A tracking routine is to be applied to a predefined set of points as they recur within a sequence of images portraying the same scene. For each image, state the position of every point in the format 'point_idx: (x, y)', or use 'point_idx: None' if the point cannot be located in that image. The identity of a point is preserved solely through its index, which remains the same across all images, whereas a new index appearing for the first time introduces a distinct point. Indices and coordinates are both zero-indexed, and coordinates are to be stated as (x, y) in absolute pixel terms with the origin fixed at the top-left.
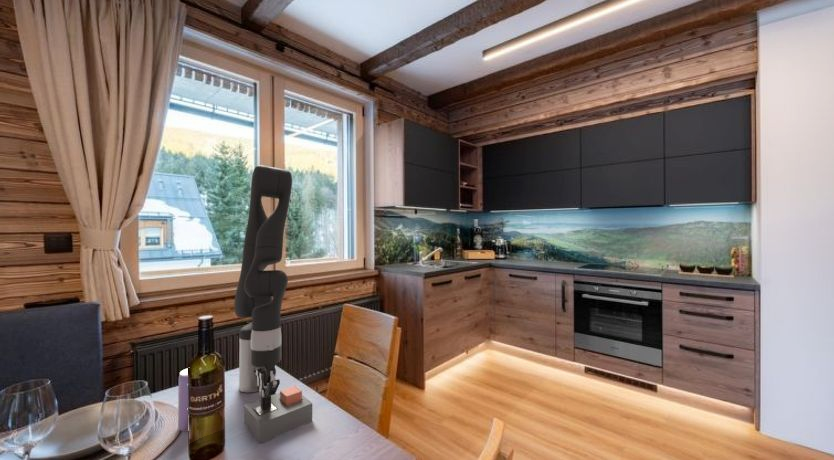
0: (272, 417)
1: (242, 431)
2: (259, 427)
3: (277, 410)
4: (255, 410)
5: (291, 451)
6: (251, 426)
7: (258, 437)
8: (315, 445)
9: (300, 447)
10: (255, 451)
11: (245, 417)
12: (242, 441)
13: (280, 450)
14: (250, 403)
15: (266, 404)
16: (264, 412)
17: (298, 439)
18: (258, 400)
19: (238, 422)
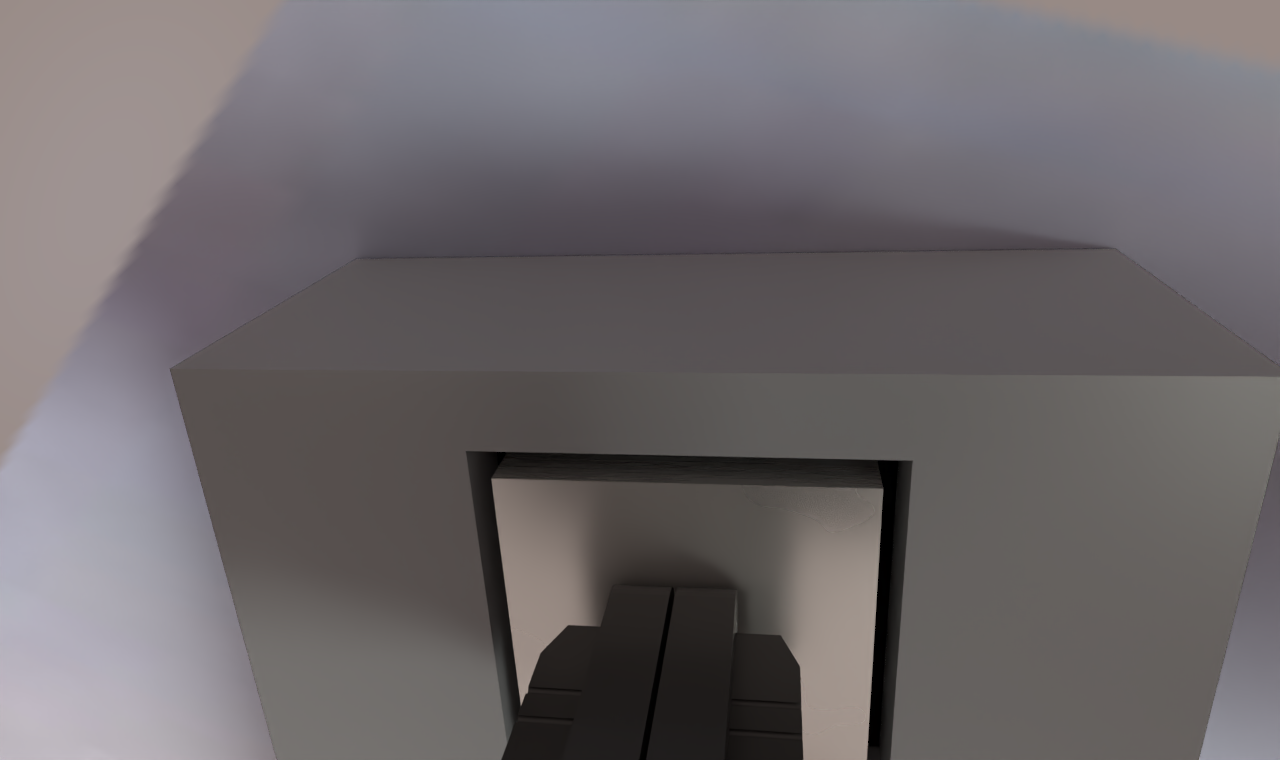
0: (276, 602)
1: (873, 156)
2: (236, 337)
3: (475, 746)
4: (776, 482)
5: (15, 477)
6: (701, 284)
7: (379, 277)
8: (12, 675)
9: (44, 568)
10: (214, 157)
11: (1070, 290)
12: (574, 75)
13: (87, 400)
14: (1232, 515)
15: (524, 724)
16: (538, 575)
17: (197, 615)
18: (1205, 681)
19: (1245, 182)
